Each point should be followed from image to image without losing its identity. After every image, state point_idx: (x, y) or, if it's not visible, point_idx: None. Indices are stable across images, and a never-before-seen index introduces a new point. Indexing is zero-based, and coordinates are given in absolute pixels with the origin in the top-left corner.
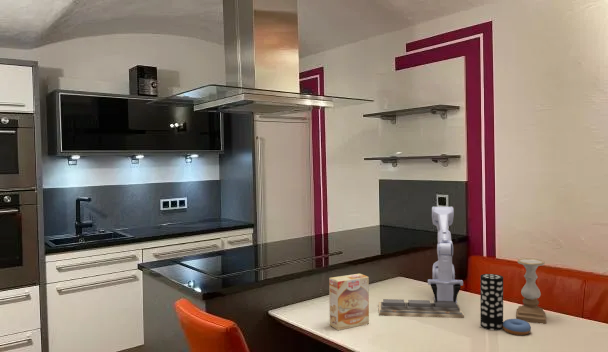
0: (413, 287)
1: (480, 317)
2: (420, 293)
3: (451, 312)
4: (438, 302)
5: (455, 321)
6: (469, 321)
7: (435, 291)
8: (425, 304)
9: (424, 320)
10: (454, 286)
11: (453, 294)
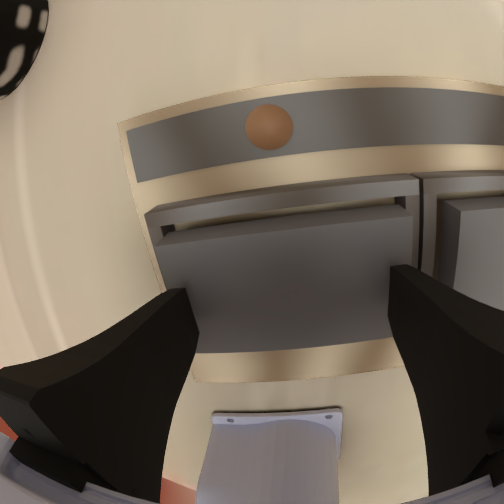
0: (388, 499)
1: (10, 11)
2: (383, 475)
3: (227, 153)
4: (369, 278)
5: (197, 14)
6: (96, 61)
7: (488, 323)
8: (497, 205)
9: (449, 4)
10: (82, 451)
11: (177, 388)
